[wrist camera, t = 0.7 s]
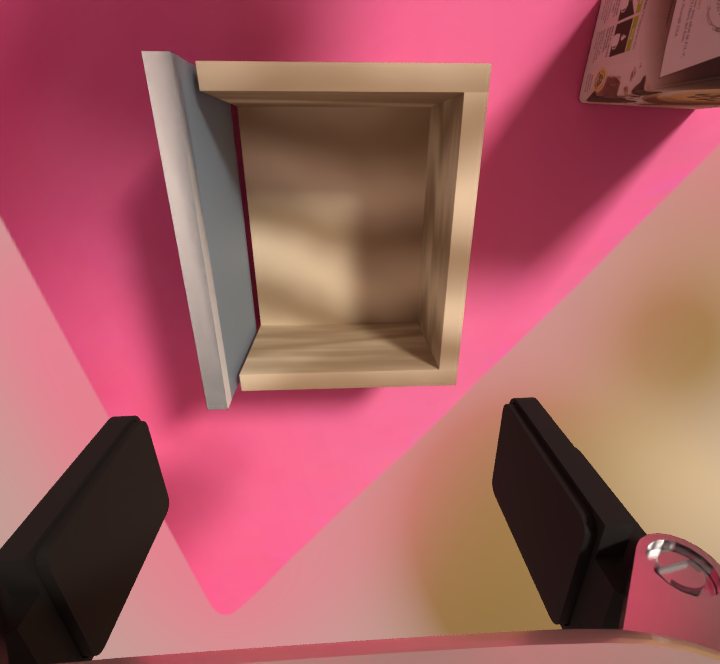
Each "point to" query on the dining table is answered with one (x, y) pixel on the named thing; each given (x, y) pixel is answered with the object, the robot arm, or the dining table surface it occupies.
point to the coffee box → (655, 54)
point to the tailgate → (205, 219)
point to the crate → (357, 216)
